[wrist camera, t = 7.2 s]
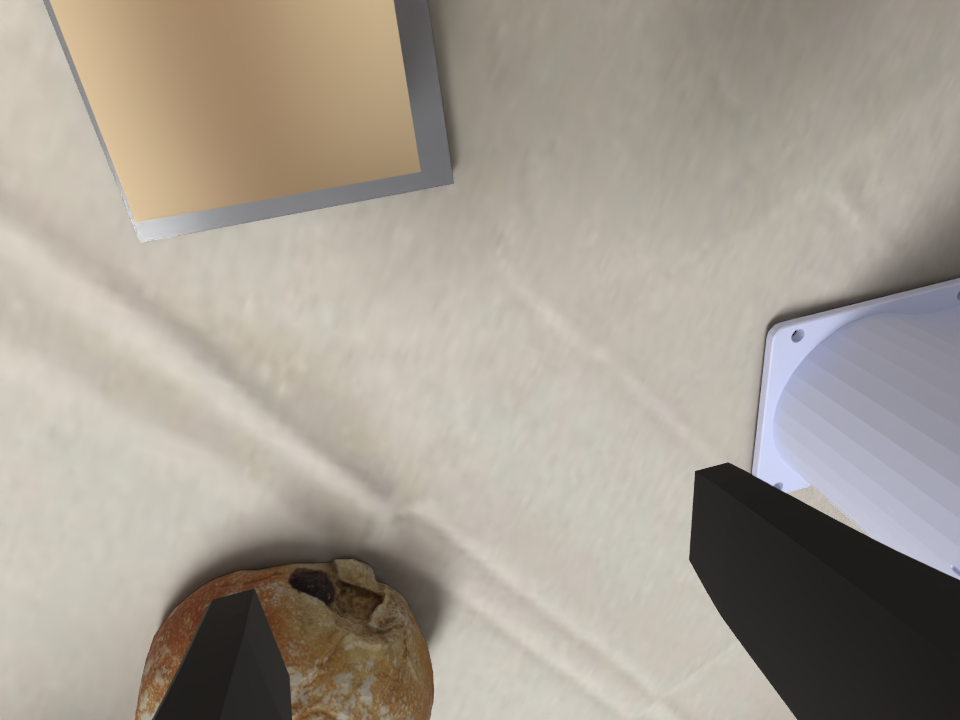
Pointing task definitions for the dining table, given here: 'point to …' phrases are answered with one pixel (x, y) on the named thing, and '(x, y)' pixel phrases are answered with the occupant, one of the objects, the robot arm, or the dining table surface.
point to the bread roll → (316, 642)
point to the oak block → (242, 96)
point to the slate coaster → (433, 174)
